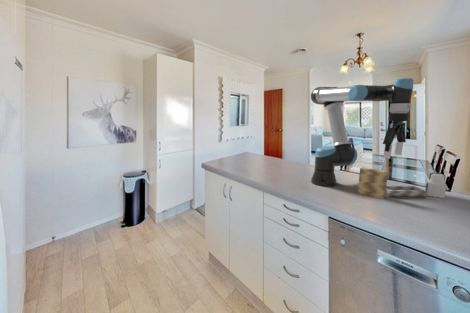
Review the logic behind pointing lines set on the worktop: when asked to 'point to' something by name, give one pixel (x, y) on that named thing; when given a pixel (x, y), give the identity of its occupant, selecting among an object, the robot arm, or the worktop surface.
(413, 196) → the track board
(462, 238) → the worktop surface
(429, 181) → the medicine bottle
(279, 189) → the worktop surface
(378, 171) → the door slab
